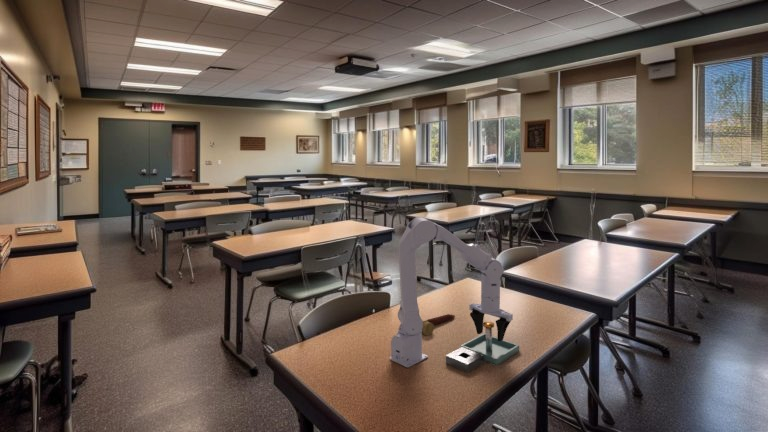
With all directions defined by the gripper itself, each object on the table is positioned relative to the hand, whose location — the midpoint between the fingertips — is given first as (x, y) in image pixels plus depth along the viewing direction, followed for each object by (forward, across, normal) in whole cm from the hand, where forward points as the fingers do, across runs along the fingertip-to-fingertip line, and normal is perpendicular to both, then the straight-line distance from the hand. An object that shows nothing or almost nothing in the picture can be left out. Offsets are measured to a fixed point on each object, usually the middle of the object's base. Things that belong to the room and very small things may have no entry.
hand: (489, 336), depth 131 cm
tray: (+5, 0, 0) cm, 5 cm away
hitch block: (+5, +1, +12) cm, 13 cm away
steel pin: (+4, 0, 0) cm, 4 cm away
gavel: (+6, +27, -5) cm, 28 cm away
